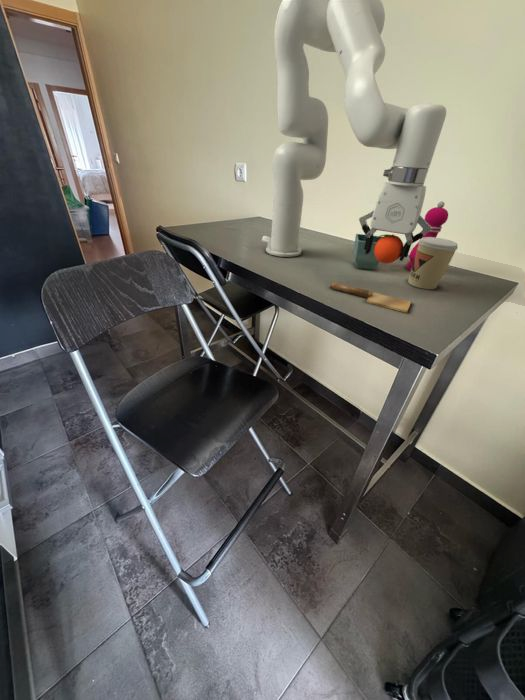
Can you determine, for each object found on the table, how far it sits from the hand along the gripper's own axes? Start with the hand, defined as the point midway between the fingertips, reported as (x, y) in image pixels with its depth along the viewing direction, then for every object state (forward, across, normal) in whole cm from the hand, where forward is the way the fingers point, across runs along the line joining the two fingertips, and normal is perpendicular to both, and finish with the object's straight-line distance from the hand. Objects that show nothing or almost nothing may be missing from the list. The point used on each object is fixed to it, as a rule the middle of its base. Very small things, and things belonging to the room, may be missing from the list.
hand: (384, 255), depth 73 cm
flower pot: (+9, -7, +16) cm, 19 cm away
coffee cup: (+9, +11, +12) cm, 18 cm away
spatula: (+9, 0, -8) cm, 12 cm away
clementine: (+2, 0, 0) cm, 2 cm away
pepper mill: (+9, +8, +24) cm, 27 cm away
